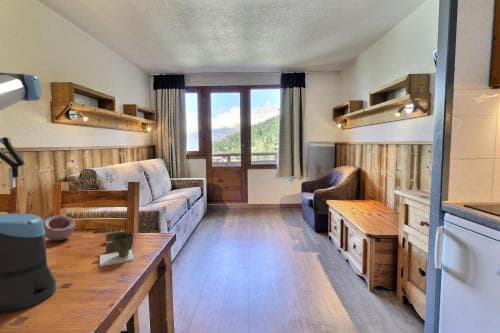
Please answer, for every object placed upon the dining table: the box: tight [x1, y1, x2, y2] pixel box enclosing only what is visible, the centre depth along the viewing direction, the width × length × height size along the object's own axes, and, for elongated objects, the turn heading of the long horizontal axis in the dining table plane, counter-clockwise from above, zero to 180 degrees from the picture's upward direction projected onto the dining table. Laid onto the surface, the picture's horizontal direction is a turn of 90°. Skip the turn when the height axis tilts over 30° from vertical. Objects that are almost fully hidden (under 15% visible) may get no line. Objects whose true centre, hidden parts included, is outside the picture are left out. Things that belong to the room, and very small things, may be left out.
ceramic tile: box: [99, 248, 135, 267], centre depth 101 cm, size 10×11×1 cm
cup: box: [112, 231, 134, 257], centre depth 102 cm, size 8×7×8 cm
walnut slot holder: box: [105, 229, 125, 254], centre depth 114 cm, size 7×14×4 cm, turn 28°
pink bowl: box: [43, 214, 76, 242], centre depth 121 cm, size 12×12×11 cm
